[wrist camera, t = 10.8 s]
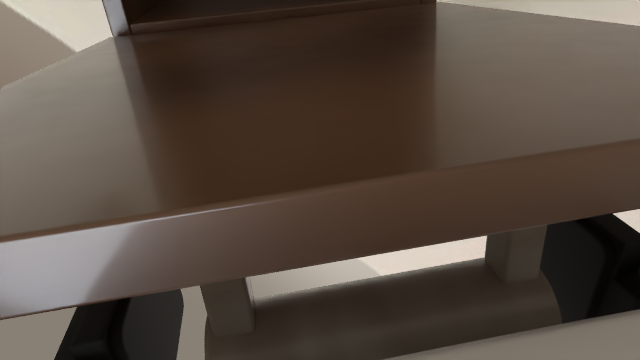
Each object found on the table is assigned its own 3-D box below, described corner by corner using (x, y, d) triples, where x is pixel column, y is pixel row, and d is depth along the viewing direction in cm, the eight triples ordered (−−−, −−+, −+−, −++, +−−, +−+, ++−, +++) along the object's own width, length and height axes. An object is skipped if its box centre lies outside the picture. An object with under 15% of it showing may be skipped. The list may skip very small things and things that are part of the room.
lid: (-509, 316, 3) (-117, 630, 5) (1060, 75, 5) (842, 395, 7) (109, 37, 18) (143, 155, 20) (441, 2, 19) (437, 114, 22)
